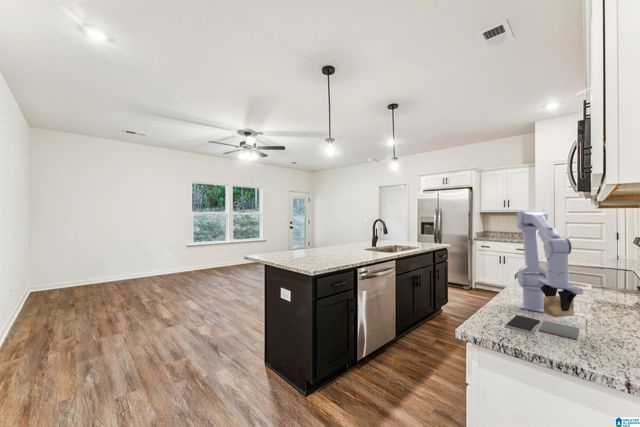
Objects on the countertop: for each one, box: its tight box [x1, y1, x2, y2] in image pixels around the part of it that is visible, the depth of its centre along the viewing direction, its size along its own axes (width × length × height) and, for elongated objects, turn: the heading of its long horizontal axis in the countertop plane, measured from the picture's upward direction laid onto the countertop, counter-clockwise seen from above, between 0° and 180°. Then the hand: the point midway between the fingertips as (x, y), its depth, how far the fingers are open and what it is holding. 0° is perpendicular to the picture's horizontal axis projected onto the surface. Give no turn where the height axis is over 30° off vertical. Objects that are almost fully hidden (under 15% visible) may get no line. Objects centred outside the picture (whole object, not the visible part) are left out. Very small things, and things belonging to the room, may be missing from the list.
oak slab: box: [543, 295, 575, 318], centre depth 96 cm, size 4×8×6 cm, turn 99°
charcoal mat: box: [538, 320, 580, 341], centre depth 96 cm, size 12×10×1 cm
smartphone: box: [505, 314, 542, 334], centre depth 102 cm, size 8×1×15 cm
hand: (558, 308), depth 96 cm, fingers closed on oak slab, 4 cm apart
